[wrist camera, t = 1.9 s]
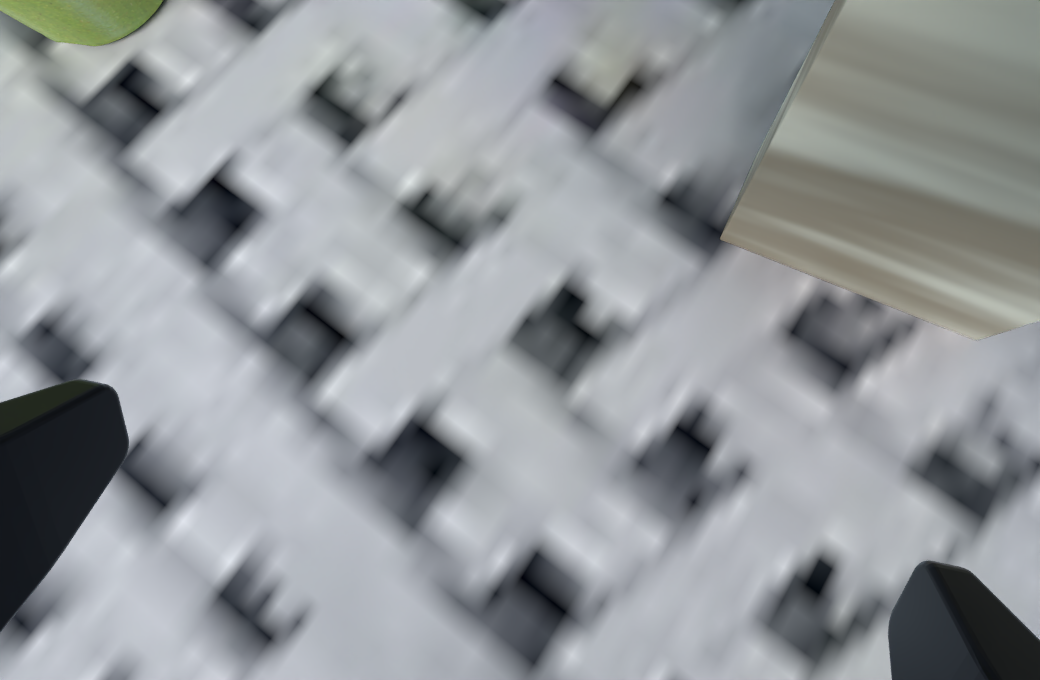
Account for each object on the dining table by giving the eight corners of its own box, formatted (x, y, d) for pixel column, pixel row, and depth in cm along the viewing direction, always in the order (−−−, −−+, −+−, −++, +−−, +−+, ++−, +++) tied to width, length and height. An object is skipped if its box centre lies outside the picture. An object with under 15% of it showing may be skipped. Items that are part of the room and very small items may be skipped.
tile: (976, 340, 21) (1799, 80, 7) (719, 239, 23) (935, -165, 8) (1016, 238, 22) (1885, -224, 7) (761, 144, 23) (1040, -409, 8)
